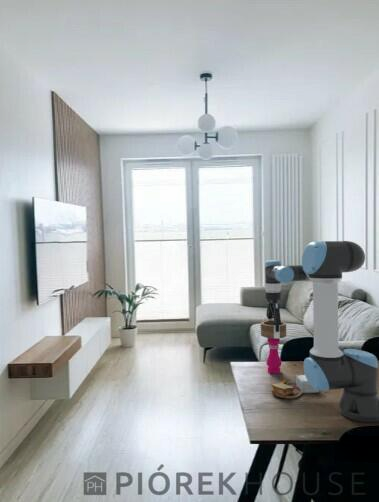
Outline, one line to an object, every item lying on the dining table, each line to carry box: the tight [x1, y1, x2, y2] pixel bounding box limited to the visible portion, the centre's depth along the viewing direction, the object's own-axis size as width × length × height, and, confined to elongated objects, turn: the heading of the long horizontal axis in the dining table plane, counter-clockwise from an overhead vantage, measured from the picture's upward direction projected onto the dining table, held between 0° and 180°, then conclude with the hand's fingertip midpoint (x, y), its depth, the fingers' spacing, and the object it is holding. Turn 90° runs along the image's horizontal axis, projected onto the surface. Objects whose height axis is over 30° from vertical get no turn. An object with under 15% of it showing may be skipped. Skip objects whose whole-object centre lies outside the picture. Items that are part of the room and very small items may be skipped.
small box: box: [295, 374, 320, 394], centre depth 163 cm, size 8×8×5 cm
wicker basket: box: [260, 320, 287, 339], centre depth 184 cm, size 12×12×6 cm
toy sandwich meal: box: [271, 379, 303, 400], centre depth 158 cm, size 12×14×5 cm
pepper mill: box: [266, 338, 282, 375], centre depth 184 cm, size 7×7×20 cm
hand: (273, 334), depth 184 cm, fingers closed on wicker basket, 12 cm apart
